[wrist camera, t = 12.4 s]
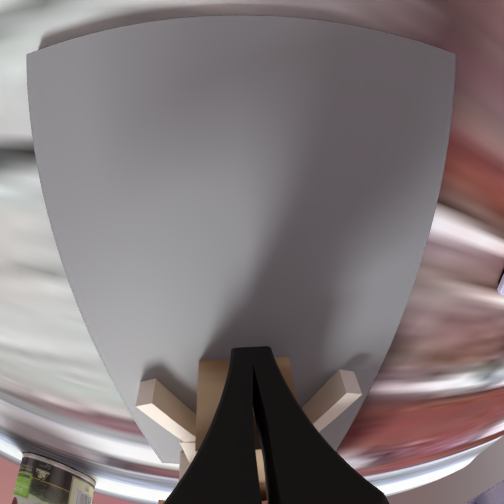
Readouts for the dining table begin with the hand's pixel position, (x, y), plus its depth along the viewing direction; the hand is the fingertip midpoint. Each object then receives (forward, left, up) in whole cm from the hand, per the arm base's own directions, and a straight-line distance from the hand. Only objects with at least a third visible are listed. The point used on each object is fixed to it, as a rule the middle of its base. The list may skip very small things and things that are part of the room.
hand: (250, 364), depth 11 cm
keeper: (0, +2, -2) cm, 3 cm away
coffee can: (+24, +28, -2) cm, 37 cm away
